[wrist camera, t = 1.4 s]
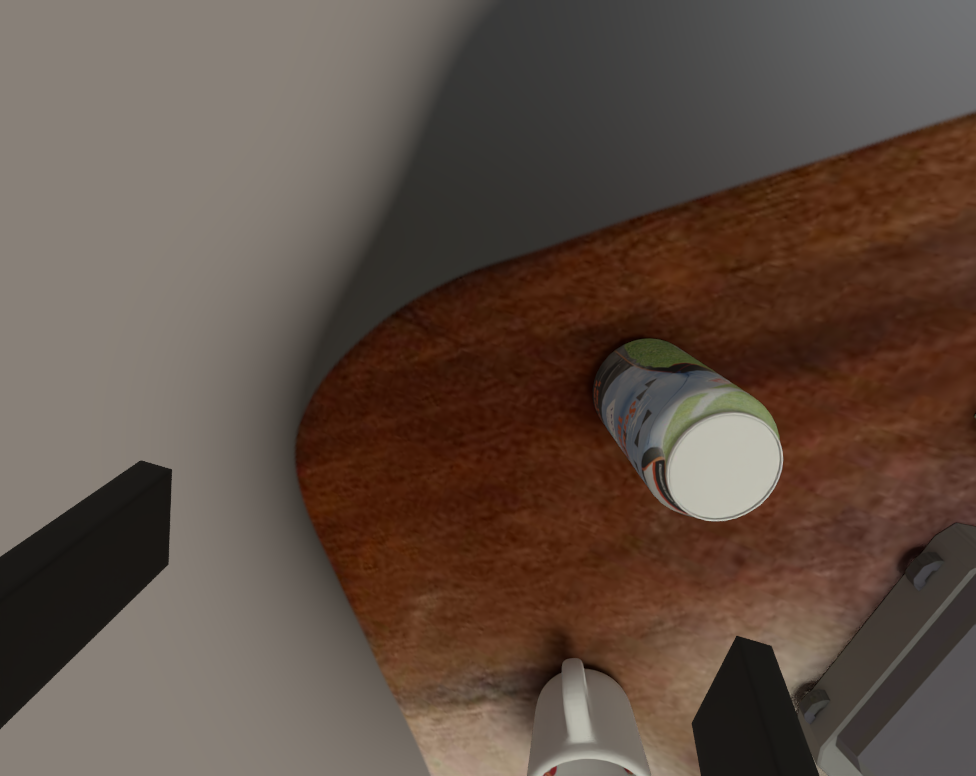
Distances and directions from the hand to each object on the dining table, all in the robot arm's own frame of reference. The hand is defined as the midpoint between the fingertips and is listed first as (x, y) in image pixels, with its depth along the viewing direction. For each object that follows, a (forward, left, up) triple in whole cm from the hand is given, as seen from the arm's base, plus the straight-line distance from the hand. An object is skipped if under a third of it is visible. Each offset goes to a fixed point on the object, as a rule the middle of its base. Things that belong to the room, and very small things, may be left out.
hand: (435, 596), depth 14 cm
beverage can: (-2, +9, -24) cm, 26 cm away
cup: (+20, +17, -24) cm, 36 cm away
